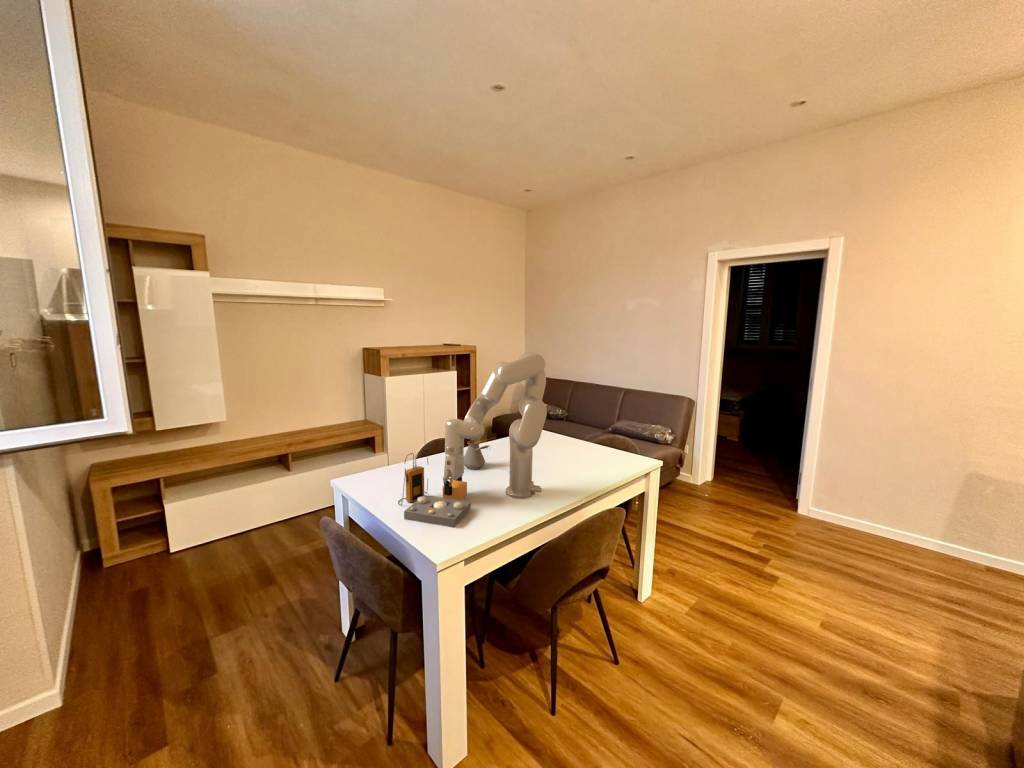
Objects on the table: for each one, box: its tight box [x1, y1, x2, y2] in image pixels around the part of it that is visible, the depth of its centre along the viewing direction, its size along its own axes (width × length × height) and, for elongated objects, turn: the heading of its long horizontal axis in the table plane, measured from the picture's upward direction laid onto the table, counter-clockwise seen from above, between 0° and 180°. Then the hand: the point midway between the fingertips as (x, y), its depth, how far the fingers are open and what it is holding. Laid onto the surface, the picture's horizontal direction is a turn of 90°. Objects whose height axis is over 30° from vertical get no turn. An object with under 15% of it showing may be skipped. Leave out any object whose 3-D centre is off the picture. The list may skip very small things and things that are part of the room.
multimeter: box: [397, 450, 429, 506], centre depth 165 cm, size 15×10×20 cm
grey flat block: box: [403, 494, 472, 528], centre depth 151 cm, size 20×15×4 cm
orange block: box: [442, 480, 468, 501], centre depth 166 cm, size 7×7×6 cm
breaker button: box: [434, 501, 447, 509], centre depth 153 cm, size 5×5×3 cm
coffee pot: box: [464, 439, 492, 470], centre depth 198 cm, size 21×12×15 cm, turn 33°
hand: (453, 490), depth 165 cm, fingers open, 9 cm apart
